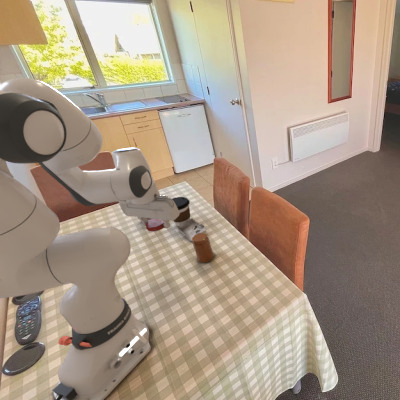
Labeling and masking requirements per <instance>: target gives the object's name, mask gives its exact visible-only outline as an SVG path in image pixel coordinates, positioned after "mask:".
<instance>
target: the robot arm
mask: <svg viewBox="0 0 400 400" xmlns="http://www.w3.org/2000/svg"><path fill="white" fill-rule="evenodd" d="M103 139H104V138H103V135H102V132H101V130H100V129H99V128H98V126H97V125H96V123H95V122H94V121H93V120H92V119H91V118H90V117H89V116H88V115H87V114H86V113H85V112H84V111H83V110H82V109H81V108H79V106H77V105H76V104H75V103H74V102H72V100H70V99H69V98H68V97H67V96H65V95H64V94H62V93H61V92H60V91H58V89H55V88H54V87H52V86H51V85H49V84H48V83H46V82H44V81H41V80H39V79H35V78H30V77H16V78H11V79H8V80H5V81H2V82H0V299H8V298H15V297H21V296H29V295H33V294H37V293H40V292H43V291H47V290H50V289H54V288H58V287H61V286H64V285H69V284H73V285H72V286H71V287H70V288H69V289H68V290H67V291H65V293H64V294H63V296H62V297H61V299H60V301H59V305H58V309H59V313H60V314H61V316H62V317H63V318H64V320H65V322H67V324H69V326H70V327H71V336H68V335H62V336H61V337H59V339H58V342H57V343H58V345H60V346H65V347H67V346H69V345H70V347H69V349H68V351H67V353H66V355H65V358H64V359H63V361H62V363H61V365H60V367H59V369H58V371H57V377H58V380H59V382H58V383H57V384H56V386H55V387H54V388H53V389H52V393H53V396H54V399H55V400H105V399H106V398H107V397H109V395H110V394H111V393H112V392H113V391H114V390H115V388H117V387H118V385H119V384H121V382H122V381H123V380H124V379H125V378H126V377H127V376H128V375H129V374H130V373H131V371H133V370H134V368H136V366H137V365H138V364H139V363H140V362H141V361H142V360H143V359H144V358H145V357H146V356H147V355H148V354H149V352H151V349H152V346H151V344H150V340H149V339H150V330H149V327H148V326H147V325H146V324H144V323H143V322H141V321H140V320H139V319H138V318H137V317H136V316H135V315H134V314H133V313H132V308H131V307H130V305H129V304H128V302H127V301H126V299H125V298H123V297H122V296H121V293H120V291H119V290H118V288H117V286H116V275H117V273H118V271H119V270H120V268H121V267H122V266H123V265H125V264H126V262H127V261H128V259H129V258H130V254H131V249H132V248H131V242H130V240H129V237H128V236H127V235H126V234H125V233H124V231H122V230H121V229H119V228H117V227H114V226H111V227H110V226H109V227H95V228H94V227H93V228H88V229H87V228H86V229H84V230H79V231H74V232H70V233H65V234H62V235H61V234H60V235H59V233H60V229H61V223H60V219H59V216H58V215H57V214H56V213H55V211H53V210H52V209H51V208H50V207H48V206H47V205H46V203H44V202H43V201H42V200H41V199H40V198H39V197H37V195H36V194H34V193H33V191H31V190H30V189H29V188H28V187H26V186H25V185H24V184H23V183H21V182H20V181H18V180H17V179H16V178H15V177H14V175H13V174H12V172H11V171H10V169H9V167H8V164H7V162H8V163H11V164H38V165H39V166H40V167H41V168H42V169H43V170H44V171H45V172H46V173H47V174H49V176H51V177H52V178H53V179H54V180H55V181H56V182H58V183H59V184H60V185H61V186H62V187H63V188H64V189H66V190H67V191H68V192H69V194H70V195H71V198H73V199H74V200H75V201H76V202H78V203H79V204H81V205H82V206H84V207H94V206H100V205H103V204H110V203H118V204H119V207H120V209H121V211H122V213H123V214H124V215H125V216H127V217H134V218H137V220H139V221H140V222H141V223H142V224H143V226H144V227H146V226H145V224H146V222H147V221H149V220H148V219H147V218H152V219H161V220H163V221H164V224H162V226H163V229H166V230H168V229H169V228H170V227H171V225H170V222H171V221H172V222H174V221H173V220H175V219H176V218H177V217H178V216H179V214H180V213H179V210H178V208H177V206H176V204H175V202H174V201H173V200H172V199H173V198H171V197H169V195H163V194H160V190H159V189H158V186H157V183H156V180H155V179H154V178H153V176H152V170H151V167H150V165H149V162H148V159H147V158H146V157H145V155H144V152H142V150H141V149H140V148H138V147H127V148H126V147H123V148H119V149H118V148H117V149H115V150H113V151H112V152H111V157H112V161H113V165H114V168H109V169H102V170H83V169H82V168H80V167H81V166H85V165H86V164H89V163H91V162H92V161H93V160H95V158H96V157H97V156H98V155H99V154H100V152H101V151H102V148H103Z"/></svg>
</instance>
